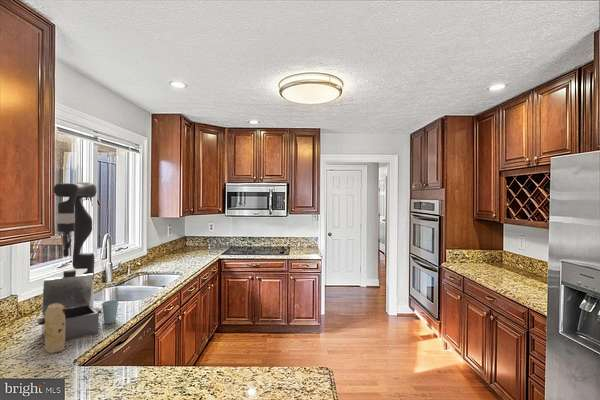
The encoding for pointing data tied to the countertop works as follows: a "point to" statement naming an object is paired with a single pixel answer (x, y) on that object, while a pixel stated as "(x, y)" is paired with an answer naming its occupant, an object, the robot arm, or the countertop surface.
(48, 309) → the food model
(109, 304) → the cup
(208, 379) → the countertop surface
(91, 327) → the cooker pot
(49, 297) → the lid
